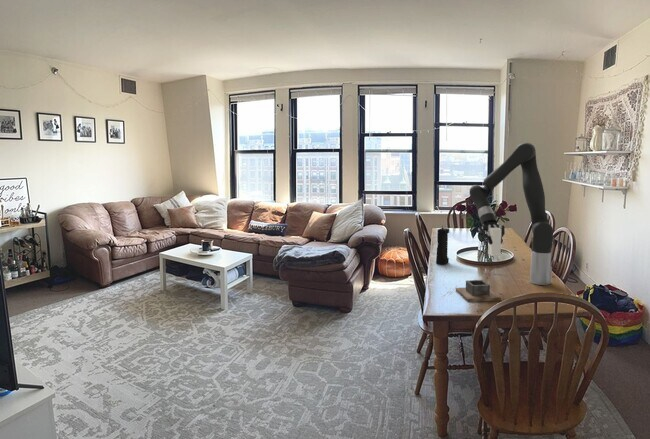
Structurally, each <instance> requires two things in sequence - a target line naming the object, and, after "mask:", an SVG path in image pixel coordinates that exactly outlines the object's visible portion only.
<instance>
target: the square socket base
mask: <svg viewBox="0 0 650 439" xmlns="http://www.w3.org/2000/svg"><path fill="white" fill-rule="evenodd" d="M490 287H491V285H490V284H489V283H487V282H486V281H485V280H483V279H473V280H472V279H469V280H465V287H455V291H456V293H457V294H459V295H460V296H461V298H463V299H464V300H465V301H466V302H467V303H472V302H473V303H475V302H494V301H495V302H497V301H499V302H501V299H502V297H501V296H499V295H498V294H497V293H496V292H494V291H493V290H492V289H491V288H490Z"/></svg>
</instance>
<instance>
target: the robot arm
mask: <svg viewBox="0 0 650 439" xmlns="http://www.w3.org/2000/svg"><path fill="white" fill-rule="evenodd" d="M536 151H537V150H536V147H535V146H534V144H532V143H529V142H522V143H520V144H518V145H517V146H516V148H515V149H514V151H512V153H511V154H510V156H508V157H507V158H506V160H505V161H504V162H503V163H501V164H500V165H499V166H498V167H497V168H495V169H494V170H493V171H492V172H491V173H489V174H488V175H487V176H486V177H485V178H484V179H483V184H484V186H480V185H479V184H473V185H472V186H470V188H469V197H470V198H471V200H472V201H473V203H474V204H475V207H476V210H477V212H478V214H477V215H478V217H479V221H480V223H481V224H480V225H481V226H480V225H479V226H478V228H477V231H478V232H479V234H480V235H481V238H483V239H486V240H487V243H490V245H491V244H492V243H493V242H492V239H491V236H490V231H489V228H500V229H501V245H502V244H503V242H504V240H503V238H504V237H505V233H506V232H505V231H506V230H505V225H499V224H498V222H497V218H496V216H495V212H494V210H493V208H492V207H491V203H490V201H489V200H488V197H489V196H490V195H491V193H492V192H493V190H494V188H496V187H497V186H498V185H499V184H500V183H501V182H503V180H505V179H506V178H507V177H508V175H510V174H511V173H512V172H513V171H514V170H515V169H516V168H517V167H519V166H520V167H521V172H522V189H523V194H524V198H525V199H524V200H525V202H526V205H527V208H528V210H529V213H530V214H529V215H530V219H531V220H530V221H531V231H532V245H531V254H530V274H529V282H530V283H531V284H533V285H539V286H547V285H550V284H551V285H552V276H553V275H552V273H553V266H552V265H551V262H552V261H551V260H552V248H553V242H554V228H553V226H552V225H551V224H550V222H549V219H548V215H547V212H546V196H545V189H544V184H543V181H542V178H541V175H540V172H539V168H538V164H537V153H536Z"/></svg>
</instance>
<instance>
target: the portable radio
mask: <svg viewBox="0 0 650 439" xmlns="http://www.w3.org/2000/svg"><path fill="white" fill-rule="evenodd" d="M443 226H444V225H442V226H441V228H438V229H437V234H436V235H437V240H436V241H437V247H436V255H435V256H436V257H435V258H436V259H435V263H436V265H443V266H446V265H448V264H449V263H450V262H449V259H450V258H449V256H448V249H449V248H448V241H449V240H448V239H449V236H448V235H449V233H450V228H447V227H443Z"/></svg>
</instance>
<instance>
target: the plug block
mask: <svg viewBox="0 0 650 439" xmlns="http://www.w3.org/2000/svg"><path fill="white" fill-rule="evenodd" d="M489 231H490V236H491V239H492V242H493V243H492V244H491V245H490V243H488V242H487V243H488V244H487V247H488V248H487V255H488V256H491V257H501V254H502V253H501V250H502V244H501V229H500V228H489Z"/></svg>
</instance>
